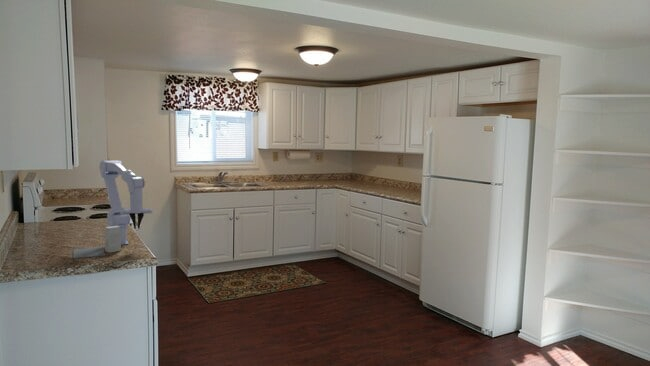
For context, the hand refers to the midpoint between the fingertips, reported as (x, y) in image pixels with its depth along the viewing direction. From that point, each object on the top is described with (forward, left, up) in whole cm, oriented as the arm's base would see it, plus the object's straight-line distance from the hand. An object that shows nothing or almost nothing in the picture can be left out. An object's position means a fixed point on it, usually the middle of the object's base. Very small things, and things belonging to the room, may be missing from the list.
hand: (136, 228), depth 230 cm
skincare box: (0, -11, -11) cm, 15 cm away
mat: (0, -22, -10) cm, 24 cm away
